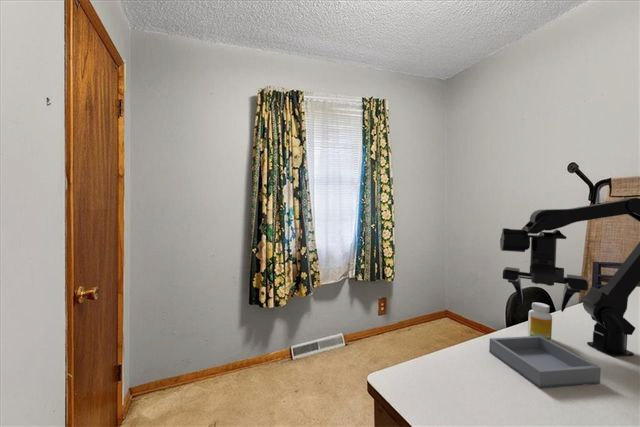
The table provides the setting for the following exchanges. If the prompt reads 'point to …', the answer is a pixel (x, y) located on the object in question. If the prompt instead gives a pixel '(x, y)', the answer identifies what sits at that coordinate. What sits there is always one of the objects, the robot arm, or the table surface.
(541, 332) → the supplement bottle
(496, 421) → the table surface
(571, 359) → the tray
